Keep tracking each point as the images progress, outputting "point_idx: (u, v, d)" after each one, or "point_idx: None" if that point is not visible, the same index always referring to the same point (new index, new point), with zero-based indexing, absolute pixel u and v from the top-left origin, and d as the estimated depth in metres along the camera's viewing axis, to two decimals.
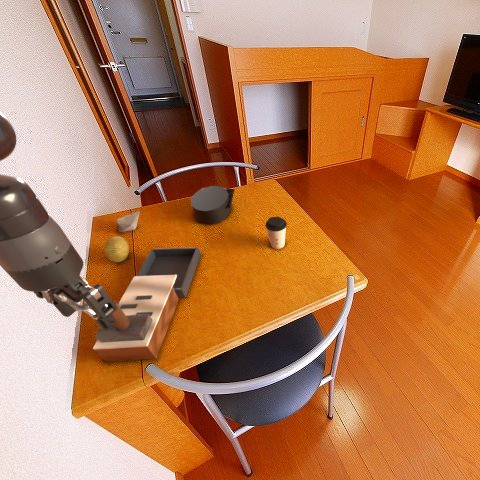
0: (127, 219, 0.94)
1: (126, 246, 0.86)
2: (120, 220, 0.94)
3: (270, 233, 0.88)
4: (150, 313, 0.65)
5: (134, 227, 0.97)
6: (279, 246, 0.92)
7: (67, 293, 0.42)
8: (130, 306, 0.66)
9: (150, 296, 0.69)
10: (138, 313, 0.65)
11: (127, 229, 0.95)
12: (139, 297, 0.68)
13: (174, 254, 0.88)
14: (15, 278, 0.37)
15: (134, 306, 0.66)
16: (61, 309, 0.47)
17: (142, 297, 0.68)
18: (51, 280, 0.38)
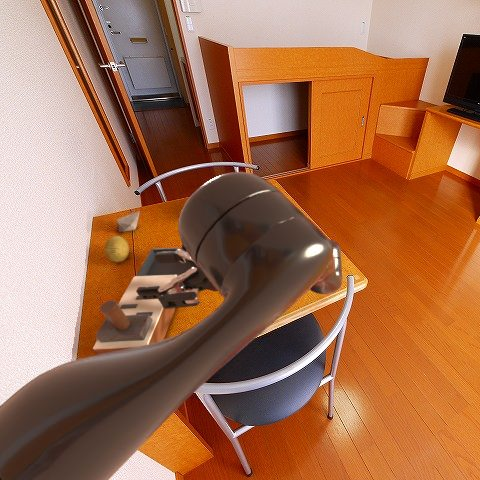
0: (127, 219, 0.94)
1: (126, 246, 0.86)
2: (120, 220, 0.94)
3: None
4: (150, 313, 0.65)
5: (134, 227, 0.97)
6: None
7: (194, 277, 0.49)
8: (130, 306, 0.66)
9: None
10: (138, 313, 0.65)
11: (127, 229, 0.95)
12: (139, 297, 0.68)
13: None
14: None
15: (134, 306, 0.66)
16: (166, 255, 0.53)
17: None
18: None
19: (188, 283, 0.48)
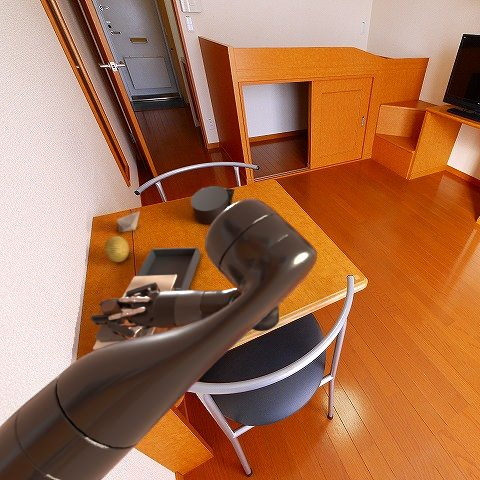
0: (127, 219, 0.94)
1: (126, 246, 0.86)
2: (120, 220, 0.94)
3: None
4: None
5: (134, 227, 0.97)
6: None
7: (142, 316, 0.55)
8: None
9: None
10: None
11: (127, 229, 0.95)
12: None
13: (174, 254, 0.88)
14: (169, 298, 0.55)
15: None
16: None
17: None
18: (160, 317, 0.54)
19: (136, 322, 0.54)
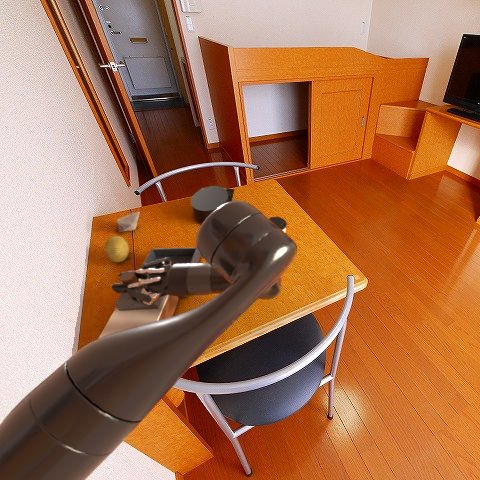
0: (127, 219, 0.94)
1: (126, 246, 0.86)
2: (120, 220, 0.94)
3: None
4: None
5: (134, 227, 0.97)
6: None
7: (158, 285, 0.61)
8: None
9: None
10: None
11: (127, 229, 0.95)
12: None
13: (174, 254, 0.88)
14: (182, 269, 0.61)
15: None
16: None
17: None
18: (174, 285, 0.60)
19: (153, 290, 0.60)
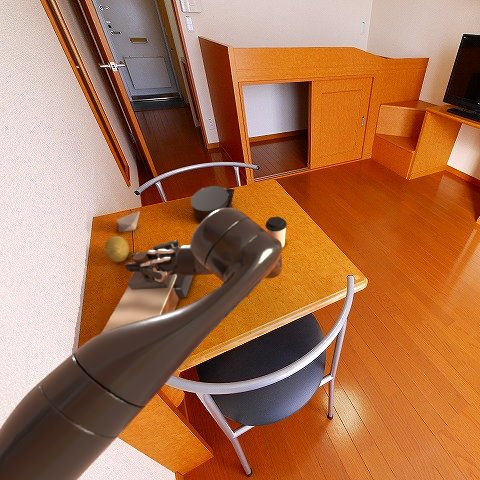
0: (127, 219, 0.94)
1: (126, 246, 0.86)
2: (120, 220, 0.94)
3: (270, 233, 0.88)
4: None
5: (134, 227, 0.97)
6: None
7: (168, 264, 0.66)
8: None
9: None
10: None
11: (127, 229, 0.95)
12: None
13: None
14: (190, 249, 0.66)
15: None
16: None
17: None
18: (183, 264, 0.65)
19: (163, 268, 0.65)
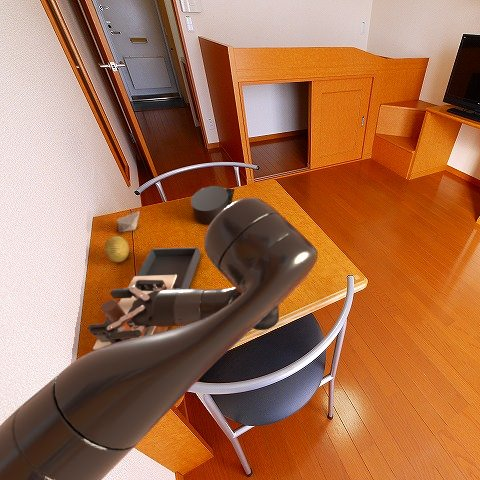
0: (127, 219, 0.94)
1: (126, 246, 0.86)
2: (120, 220, 0.94)
3: None
4: None
5: (134, 227, 0.97)
6: None
7: (141, 315, 0.55)
8: None
9: None
10: None
11: (127, 229, 0.95)
12: None
13: (174, 254, 0.88)
14: (168, 297, 0.55)
15: None
16: (120, 292, 0.59)
17: None
18: (160, 315, 0.54)
19: (135, 321, 0.54)
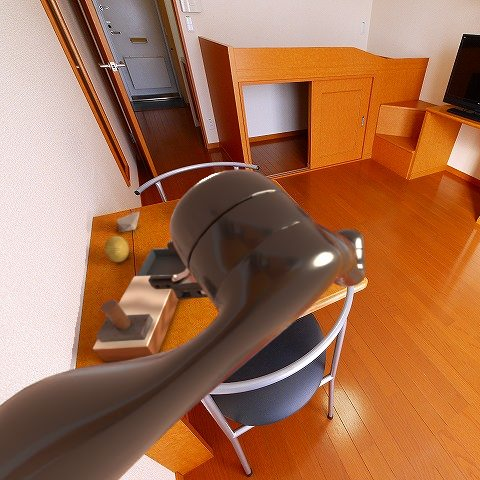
0: (127, 219, 0.94)
1: (126, 246, 0.86)
2: (120, 220, 0.94)
3: None
4: None
5: (134, 227, 0.97)
6: None
7: None
8: None
9: None
10: None
11: (127, 229, 0.95)
12: None
13: (174, 254, 0.88)
14: None
15: None
16: None
17: None
18: None
19: None
